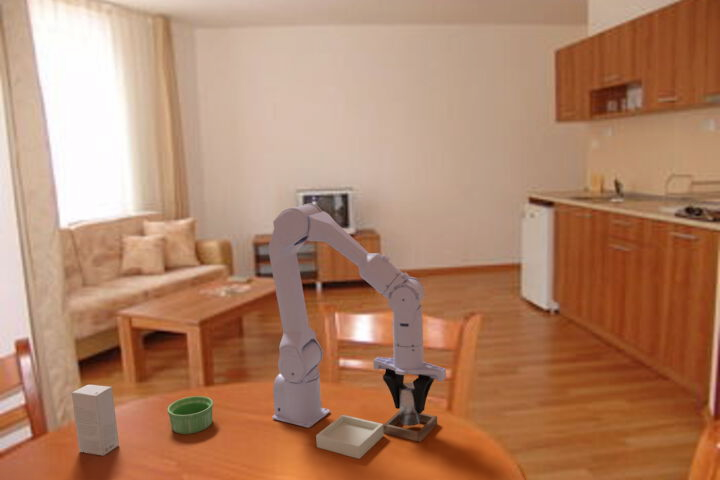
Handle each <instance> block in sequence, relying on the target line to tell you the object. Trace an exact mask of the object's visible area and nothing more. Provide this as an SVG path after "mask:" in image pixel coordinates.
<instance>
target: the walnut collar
mask: <svg viewBox="0 0 720 480" xmlns="http://www.w3.org/2000/svg"><path fill="white" fill-rule="evenodd" d="M398 423H400V409H398V411H397V412H396V413H395V414H394V415H392V416H391V417H390V418H389V420H387V421H386V422H385V423H383V431H384V434H386V435H389V436H395V437H399V438H403V439H406V440H410V441H415V442H419V443H421V442H423V440H424V439H425V438H426V437H427V436H428V435H429V434H430V433H431V432H432V431H433V430H434V428H435V427H436V426H437V425H438V416H436V415H431V414H428V413H423V412H422V413H421V414H420V423H424V426H423V427H421V429H420V430H419V431H417V430H413V429H409V428H406V427H400V426H396V425H398Z"/></svg>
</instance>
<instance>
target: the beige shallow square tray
mask: <svg viewBox="0 0 720 480" xmlns="http://www.w3.org/2000/svg"><path fill="white" fill-rule="evenodd" d="M383 425H384V423H380V422H376V421H371V420H366V419H363V418H360V417H355V416H351V415H345V414H341V415H340V416H338V418H336V419H335V420H333V421H332V422H331V423H329V425H327V426H326V427H325V428H324V429H322V430H320V432H318V433H317V434H315V437H316V440H315V441H316V448H318V449H322V450H324V451H325V450H326V451H330V452H334V453H336V454H340V455H344V456H348V457H351V458H354V459H358V460H359V459H361V458H362V457H363V456H364V455H365V454H366V453H367V452H368V451H370V449H372V448H373V447H374V446H375V445H376V444H377V443H378V442H379V441H380V440H381V439H382V438H383V437H384V436H385V435H384V434H385V433H384V431H383Z"/></svg>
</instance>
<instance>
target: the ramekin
mask: <svg viewBox="0 0 720 480" xmlns="http://www.w3.org/2000/svg"><path fill="white" fill-rule="evenodd" d="M213 406H214V401H213V399H212V398H210V397H208V396H204V395H203V396H202V395H196V396H195V395H193V396H187V397H183V398H180V399H178V400H175V401H173V402H172V403H170V404H169V405H168V407H167V414H168V415H169V422H170V425H171V429H172V431H174V432H175V433H177V434H182V435H191V434H195V433H199V432H202V431H204V430H206V429H208V428H209V427H210V426H211V425H212V423H213Z"/></svg>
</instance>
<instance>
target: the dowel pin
mask: <svg viewBox="0 0 720 480" xmlns="http://www.w3.org/2000/svg"><path fill="white" fill-rule="evenodd" d="M399 407H400V408H399V410H400V421H399V423H400V424H402V425H404V426H409V427H410V426H412V427H413V426H416V425H417V426H418V425H419V424H420V423H421V422H420V414H419V413H417V411H416V393H415V388H414V385H413V382H403V384H401V385H400V386H399Z"/></svg>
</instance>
